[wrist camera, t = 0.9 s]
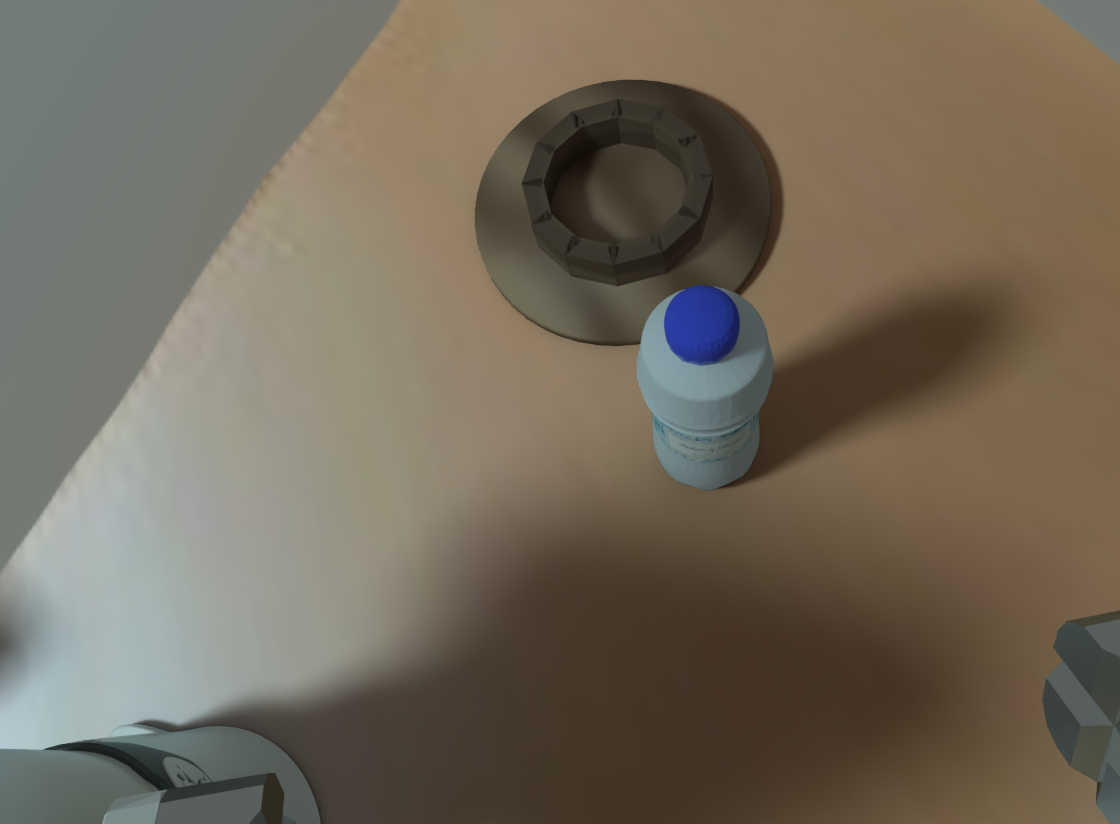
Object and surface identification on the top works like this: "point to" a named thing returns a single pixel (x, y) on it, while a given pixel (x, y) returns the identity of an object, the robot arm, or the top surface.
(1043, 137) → the top surface
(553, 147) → the coaster
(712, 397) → the bottle
